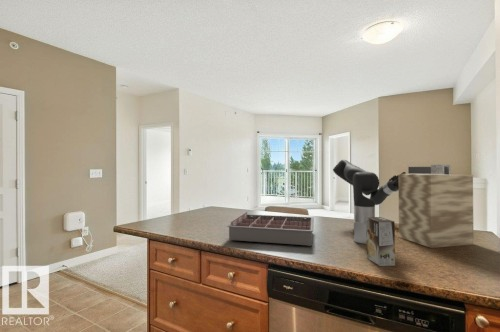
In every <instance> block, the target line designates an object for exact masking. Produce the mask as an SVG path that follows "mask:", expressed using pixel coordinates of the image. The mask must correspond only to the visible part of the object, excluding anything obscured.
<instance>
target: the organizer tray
mask: <svg viewBox="0 0 500 332" xmlns="http://www.w3.org/2000/svg"><path fill="white" fill-rule="evenodd" d="M314 218H315V217H313V216H293V215H292V216H290V215H289V216H288V215H266V214H248V211H246V212H244V213H242V214H241V215H239V216H238V217H236V218H234V219H233V220H232V221H230V224H228V226H226V227H227V228H228V239H229V241H241V242H242V241H244V242H257V243H268V244H283V245H295V246H296V245H298V246H299V245H300V246H312V244H313V239H312V238H313V232H314Z"/></svg>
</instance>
